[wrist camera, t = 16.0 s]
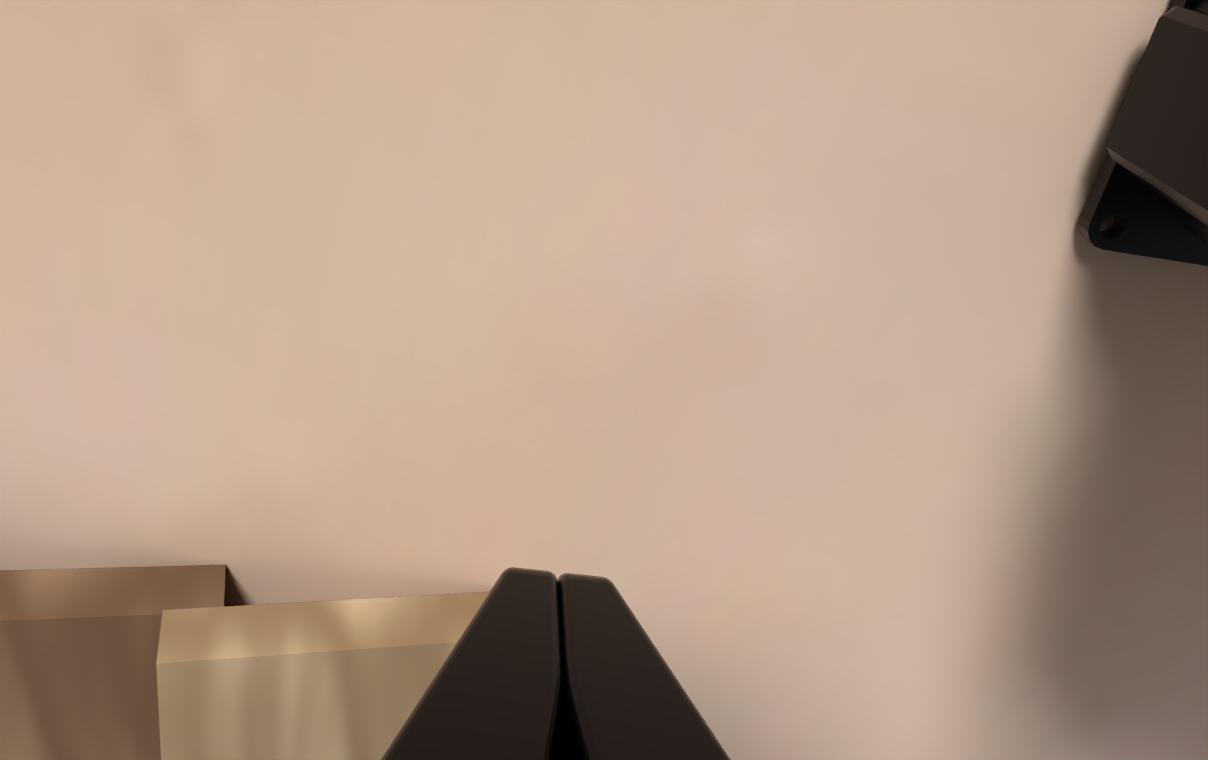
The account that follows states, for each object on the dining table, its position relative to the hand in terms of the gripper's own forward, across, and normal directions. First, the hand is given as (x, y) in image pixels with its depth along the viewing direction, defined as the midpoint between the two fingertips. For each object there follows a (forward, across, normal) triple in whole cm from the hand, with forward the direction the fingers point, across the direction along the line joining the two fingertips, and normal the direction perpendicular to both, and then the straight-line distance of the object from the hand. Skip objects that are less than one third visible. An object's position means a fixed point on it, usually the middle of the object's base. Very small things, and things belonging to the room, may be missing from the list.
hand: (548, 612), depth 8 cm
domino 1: (+12, +6, +14) cm, 19 cm away
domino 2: (+12, -1, +14) cm, 18 cm away
